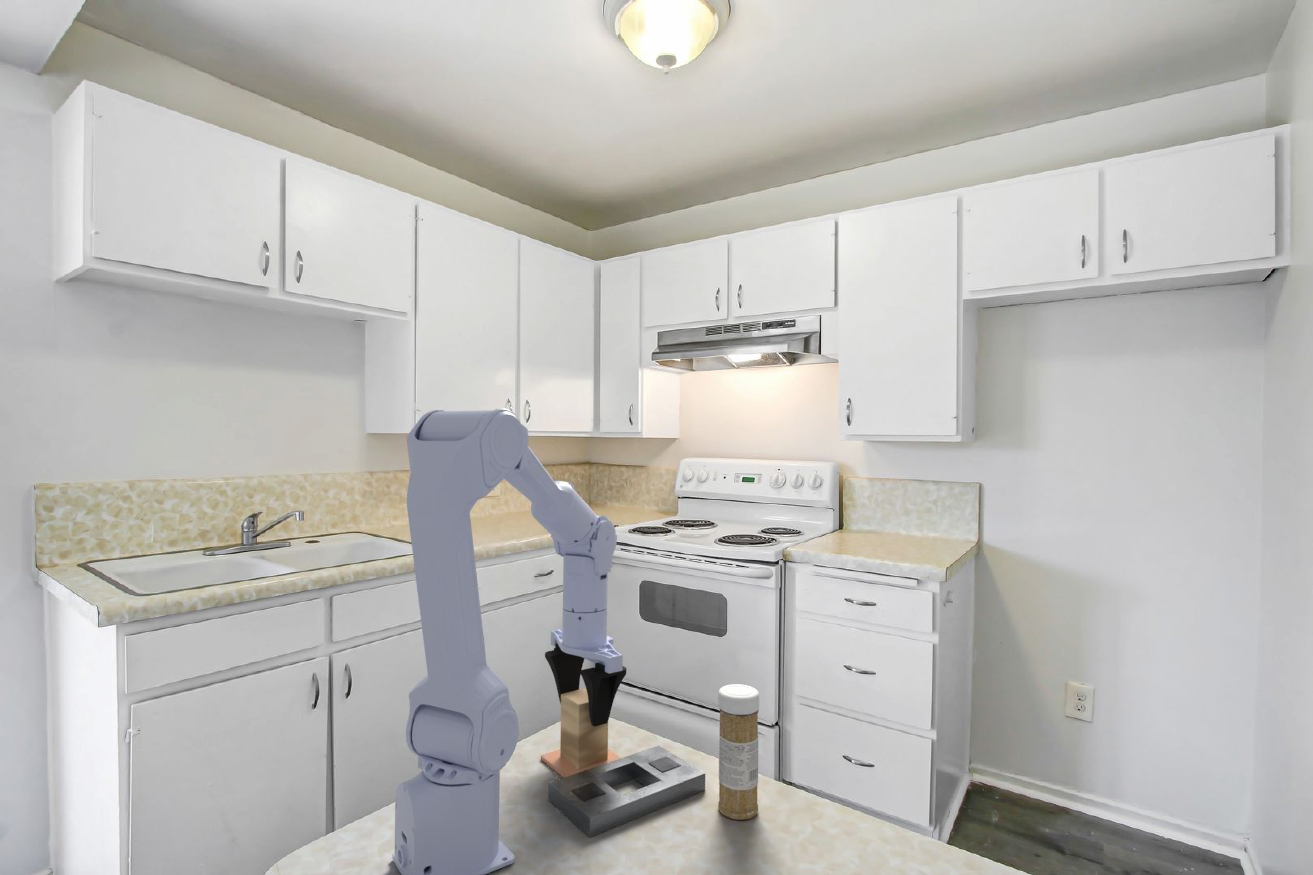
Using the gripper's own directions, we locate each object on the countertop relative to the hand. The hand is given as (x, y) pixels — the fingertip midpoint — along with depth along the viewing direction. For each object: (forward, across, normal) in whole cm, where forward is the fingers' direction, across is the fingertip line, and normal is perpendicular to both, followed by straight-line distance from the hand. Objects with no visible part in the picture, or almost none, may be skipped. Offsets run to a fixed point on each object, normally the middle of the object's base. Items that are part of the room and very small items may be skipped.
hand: (583, 713), depth 85 cm
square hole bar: (+6, -10, 0) cm, 12 cm away
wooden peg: (+6, 0, 0) cm, 6 cm away
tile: (+6, 0, 0) cm, 6 cm away
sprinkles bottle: (+6, -20, -8) cm, 23 cm away
